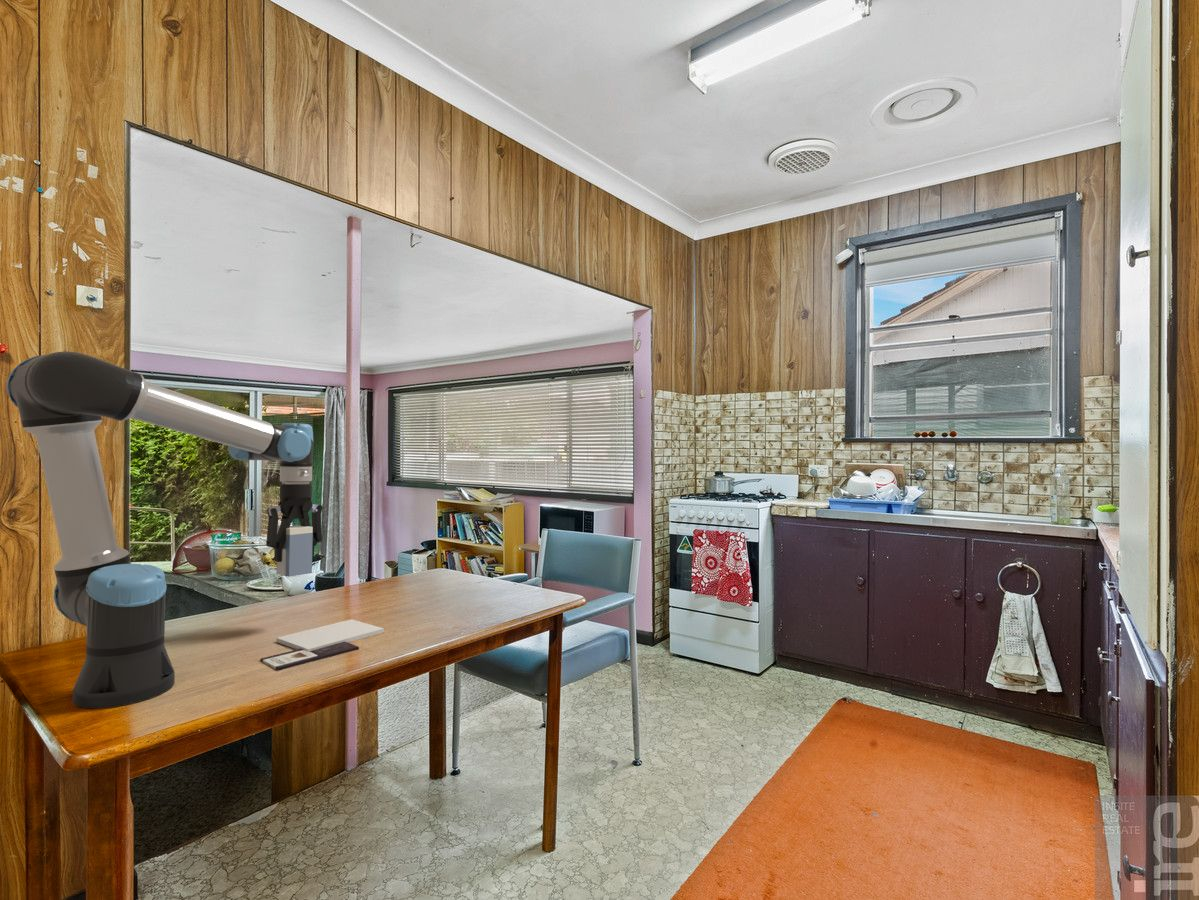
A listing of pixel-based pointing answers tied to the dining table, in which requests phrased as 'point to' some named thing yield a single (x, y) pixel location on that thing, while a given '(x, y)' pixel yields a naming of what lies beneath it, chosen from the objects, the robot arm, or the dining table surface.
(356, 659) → the dining table surface
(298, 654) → the chocolate bar
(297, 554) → the block
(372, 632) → the board
